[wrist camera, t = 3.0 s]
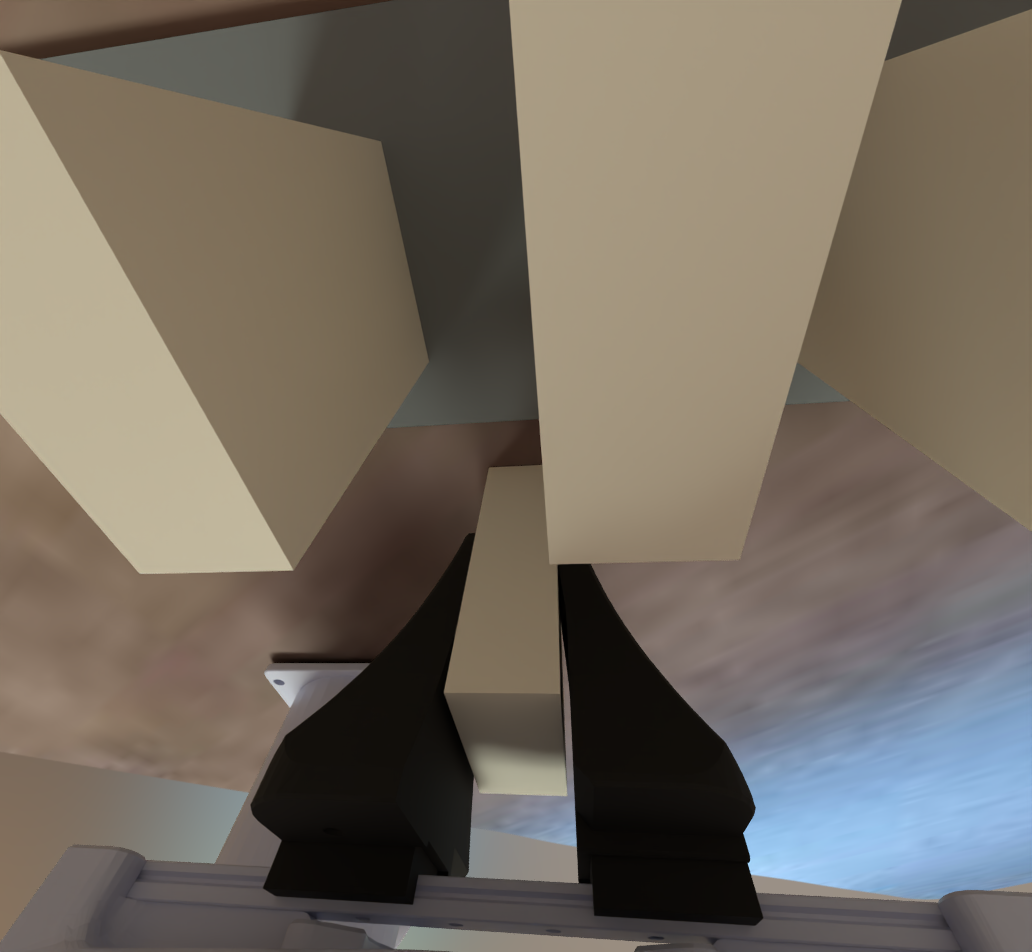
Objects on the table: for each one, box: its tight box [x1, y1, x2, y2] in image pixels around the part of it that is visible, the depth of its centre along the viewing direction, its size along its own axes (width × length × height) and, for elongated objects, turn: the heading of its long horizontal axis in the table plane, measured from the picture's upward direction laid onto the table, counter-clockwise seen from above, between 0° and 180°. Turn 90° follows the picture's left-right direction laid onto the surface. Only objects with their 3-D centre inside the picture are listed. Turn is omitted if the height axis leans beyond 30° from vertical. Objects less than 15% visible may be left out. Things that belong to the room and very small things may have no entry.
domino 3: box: [509, 0, 902, 564], centre depth 6 cm, size 4×2×7 cm, turn 5°
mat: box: [40, 0, 1032, 428], centre depth 9 cm, size 8×30×1 cm, turn 95°
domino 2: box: [444, 465, 567, 796], centre depth 11 cm, size 4×2×7 cm, turn 5°
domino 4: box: [797, 9, 1032, 532], centre depth 6 cm, size 4×2×7 cm, turn 5°
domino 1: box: [0, 50, 429, 574], centre depth 7 cm, size 4×2×7 cm, turn 5°
